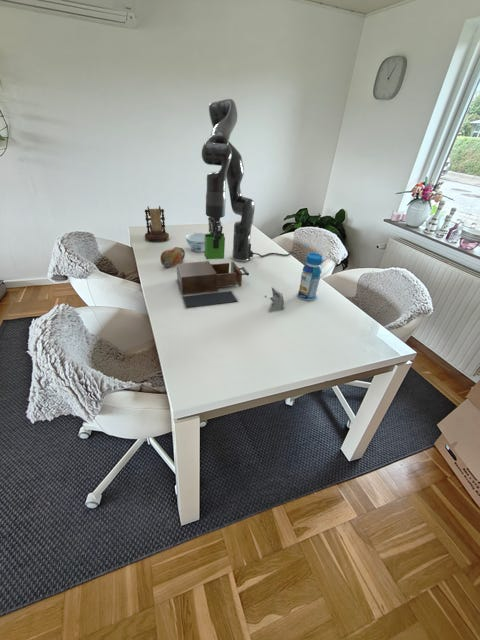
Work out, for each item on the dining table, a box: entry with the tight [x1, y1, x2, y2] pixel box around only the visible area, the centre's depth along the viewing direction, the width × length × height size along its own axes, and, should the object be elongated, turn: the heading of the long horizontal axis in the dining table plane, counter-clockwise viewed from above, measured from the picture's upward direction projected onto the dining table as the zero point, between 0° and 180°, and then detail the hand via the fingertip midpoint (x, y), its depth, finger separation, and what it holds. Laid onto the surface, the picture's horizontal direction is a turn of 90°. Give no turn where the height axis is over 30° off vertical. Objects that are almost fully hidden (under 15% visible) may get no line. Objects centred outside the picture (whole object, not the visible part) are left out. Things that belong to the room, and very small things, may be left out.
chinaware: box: [185, 232, 206, 253], centre depth 177 cm, size 15×15×8 cm
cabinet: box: [175, 260, 218, 296], centre depth 139 cm, size 16×15×9 cm
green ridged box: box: [204, 232, 226, 260], centre depth 124 cm, size 8×4×10 cm, turn 108°
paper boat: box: [264, 286, 285, 312], centre depth 129 cm, size 12×6×9 cm
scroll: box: [144, 205, 170, 243], centre depth 185 cm, size 15×15×20 cm
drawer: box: [210, 261, 250, 288], centre depth 144 cm, size 19×13×7 cm
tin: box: [159, 246, 186, 268], centre depth 158 cm, size 15×3×8 cm, turn 143°
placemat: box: [182, 290, 238, 309], centre depth 132 cm, size 22×9×1 cm, turn 109°
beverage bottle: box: [297, 252, 324, 301], centre depth 133 cm, size 8×8×20 cm
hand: (214, 246), depth 125 cm, fingers closed on green ridged box, 4 cm apart
